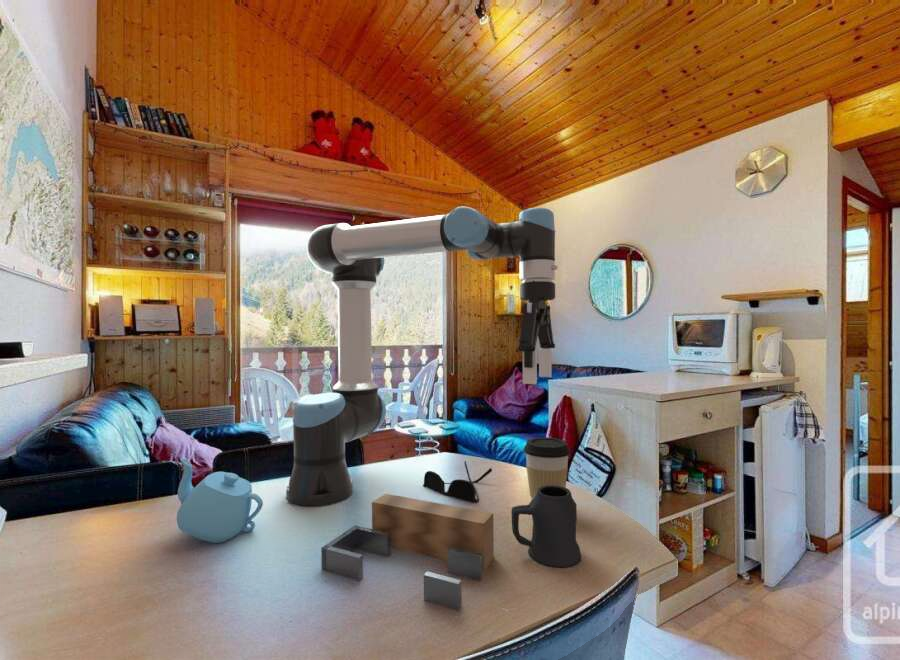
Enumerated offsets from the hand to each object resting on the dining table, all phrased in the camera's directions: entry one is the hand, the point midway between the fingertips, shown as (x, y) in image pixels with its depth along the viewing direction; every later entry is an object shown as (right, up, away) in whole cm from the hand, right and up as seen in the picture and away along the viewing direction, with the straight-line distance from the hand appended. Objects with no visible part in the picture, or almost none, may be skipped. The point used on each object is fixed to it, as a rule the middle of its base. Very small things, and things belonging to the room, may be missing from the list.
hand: (538, 380), depth 96 cm
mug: (-2, -29, -19) cm, 34 cm away
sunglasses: (-16, -29, +14) cm, 36 cm away
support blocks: (-18, -28, -29) cm, 45 cm away
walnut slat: (-22, -29, -17) cm, 40 cm away
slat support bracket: (-34, -29, -21) cm, 50 cm away
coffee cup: (+2, -28, -1) cm, 28 cm away
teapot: (-73, -18, -12) cm, 76 cm away
